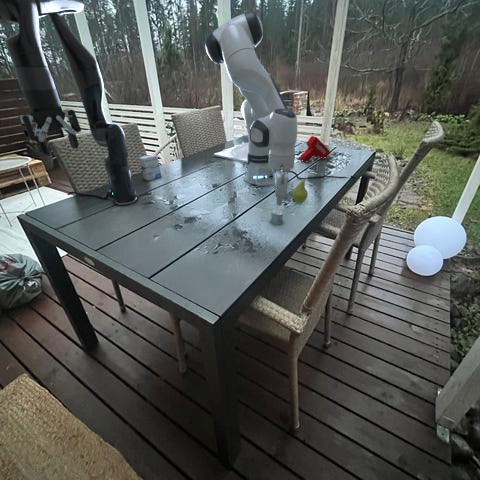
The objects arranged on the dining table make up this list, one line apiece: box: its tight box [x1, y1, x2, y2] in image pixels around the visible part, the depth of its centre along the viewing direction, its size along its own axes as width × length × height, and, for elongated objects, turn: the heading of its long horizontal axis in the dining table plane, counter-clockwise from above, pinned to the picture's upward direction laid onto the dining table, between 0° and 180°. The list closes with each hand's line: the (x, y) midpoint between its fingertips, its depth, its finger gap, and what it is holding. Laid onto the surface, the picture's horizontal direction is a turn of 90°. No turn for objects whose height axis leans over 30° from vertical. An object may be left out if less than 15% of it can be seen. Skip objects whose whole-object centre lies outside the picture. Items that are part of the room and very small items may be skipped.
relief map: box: [213, 141, 249, 164], centre depth 184 cm, size 27×35×5 cm
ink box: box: [138, 154, 162, 182], centre depth 145 cm, size 8×5×12 cm, turn 135°
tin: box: [270, 209, 284, 226], centre depth 105 cm, size 4×4×4 cm
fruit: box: [291, 174, 311, 204], centre depth 118 cm, size 7×8×12 cm
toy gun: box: [300, 135, 332, 164], centre depth 172 cm, size 18×4×15 cm
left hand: (61, 151), depth 78 cm, fingers open, 8 cm apart
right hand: (278, 198), depth 101 cm, fingers open, 8 cm apart
